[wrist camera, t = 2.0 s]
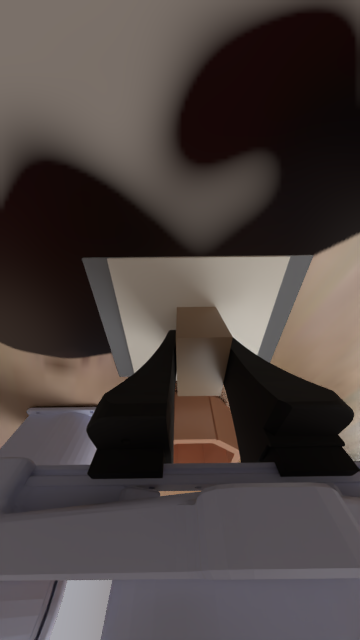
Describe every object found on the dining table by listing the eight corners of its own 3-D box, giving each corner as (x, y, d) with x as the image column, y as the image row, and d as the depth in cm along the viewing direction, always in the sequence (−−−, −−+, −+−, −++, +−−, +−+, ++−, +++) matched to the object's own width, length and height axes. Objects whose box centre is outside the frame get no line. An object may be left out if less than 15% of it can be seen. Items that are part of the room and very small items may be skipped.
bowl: (157, 430, 22) (152, 476, 18) (150, 390, 17) (140, 440, 13) (221, 429, 22) (231, 476, 18) (231, 389, 17) (249, 438, 13)
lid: (137, 376, 16) (123, 423, 12) (110, 257, 10) (62, 269, 6) (246, 375, 16) (270, 421, 12) (284, 255, 10) (358, 265, 6)
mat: (120, 373, 16) (119, 376, 16) (85, 257, 10) (81, 258, 10) (263, 371, 16) (264, 374, 16) (308, 254, 10) (313, 255, 10)
